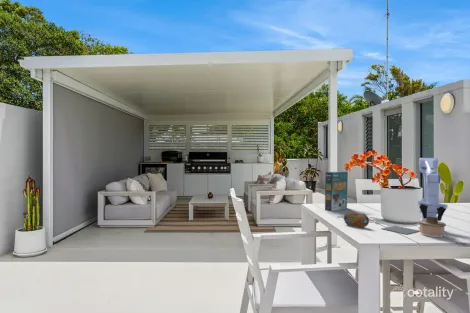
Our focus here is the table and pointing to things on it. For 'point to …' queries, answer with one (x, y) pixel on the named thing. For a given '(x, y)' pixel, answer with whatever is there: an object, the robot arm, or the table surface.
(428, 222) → the lid
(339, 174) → the cake mix box
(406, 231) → the mat
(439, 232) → the bowl
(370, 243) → the table surface
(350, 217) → the tin
